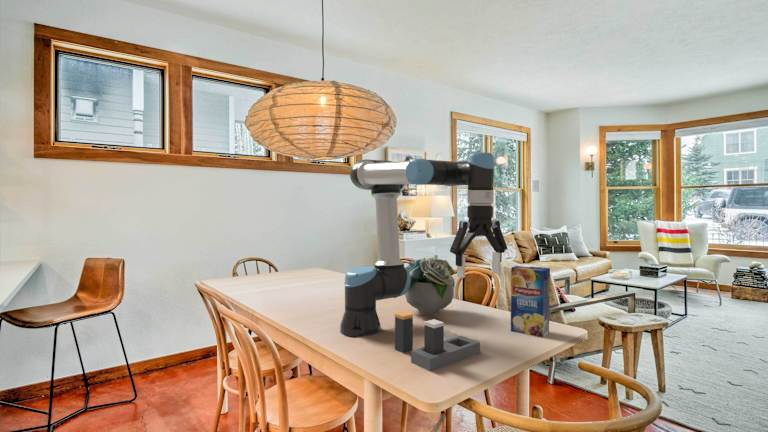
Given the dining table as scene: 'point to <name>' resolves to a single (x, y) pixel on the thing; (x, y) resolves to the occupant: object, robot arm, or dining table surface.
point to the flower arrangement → (430, 285)
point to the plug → (403, 332)
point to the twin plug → (434, 337)
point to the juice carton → (530, 300)
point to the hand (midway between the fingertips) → (478, 275)
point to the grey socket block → (446, 353)
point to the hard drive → (448, 336)
